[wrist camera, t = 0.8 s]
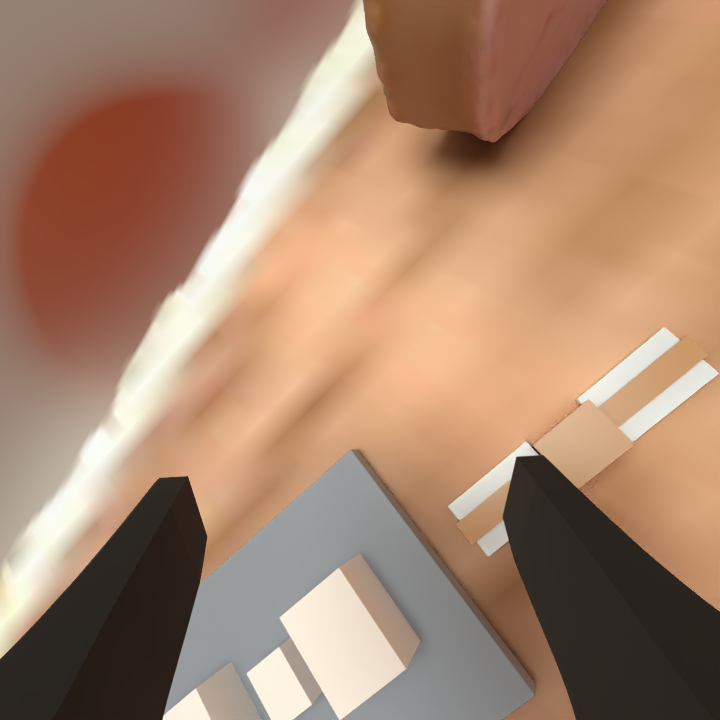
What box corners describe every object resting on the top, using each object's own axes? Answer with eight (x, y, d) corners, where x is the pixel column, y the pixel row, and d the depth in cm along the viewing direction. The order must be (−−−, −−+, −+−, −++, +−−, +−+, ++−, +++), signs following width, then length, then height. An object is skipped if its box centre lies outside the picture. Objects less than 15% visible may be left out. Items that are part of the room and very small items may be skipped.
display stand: (534, 682, 22) (536, 735, 18) (244, 894, 25) (190, 979, 21) (358, 449, 26) (329, 450, 23) (133, 649, 29) (72, 681, 25)
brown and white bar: (716, 372, 21) (758, 357, 17) (486, 555, 23) (478, 578, 19) (662, 327, 22) (691, 303, 18) (447, 506, 24) (432, 519, 20)
